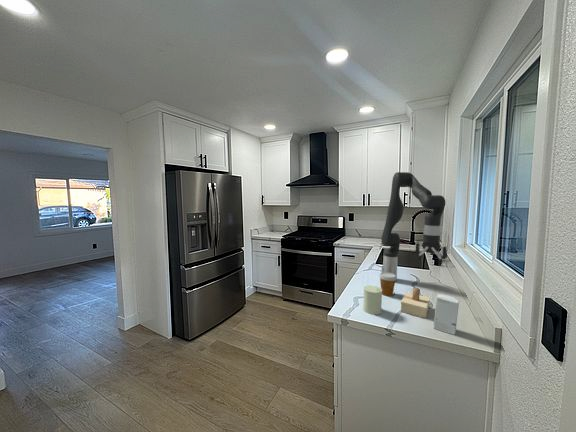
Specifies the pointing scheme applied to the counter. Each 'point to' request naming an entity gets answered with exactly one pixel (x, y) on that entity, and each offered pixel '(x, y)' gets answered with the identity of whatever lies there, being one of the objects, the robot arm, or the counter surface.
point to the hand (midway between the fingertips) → (430, 264)
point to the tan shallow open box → (414, 310)
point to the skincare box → (446, 313)
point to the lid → (415, 299)
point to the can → (372, 299)
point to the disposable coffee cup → (387, 283)
